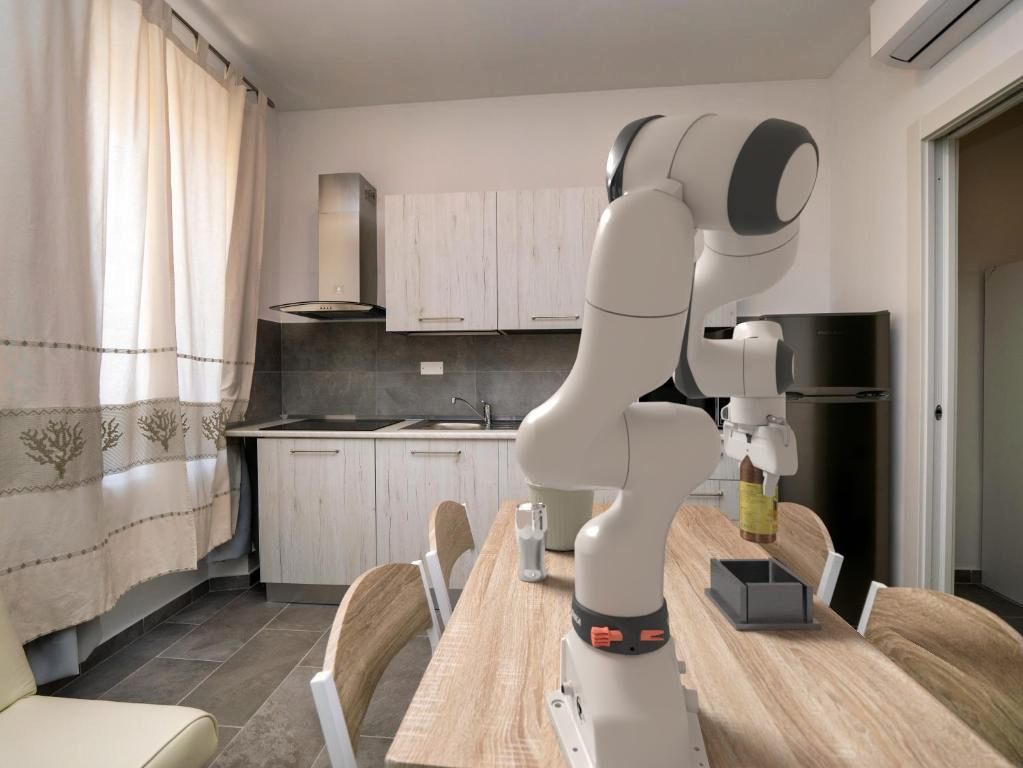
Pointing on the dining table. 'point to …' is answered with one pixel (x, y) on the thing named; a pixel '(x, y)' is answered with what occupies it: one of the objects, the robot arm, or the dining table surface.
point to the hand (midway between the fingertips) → (757, 490)
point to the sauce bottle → (756, 505)
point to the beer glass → (531, 540)
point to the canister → (563, 513)
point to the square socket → (761, 595)
